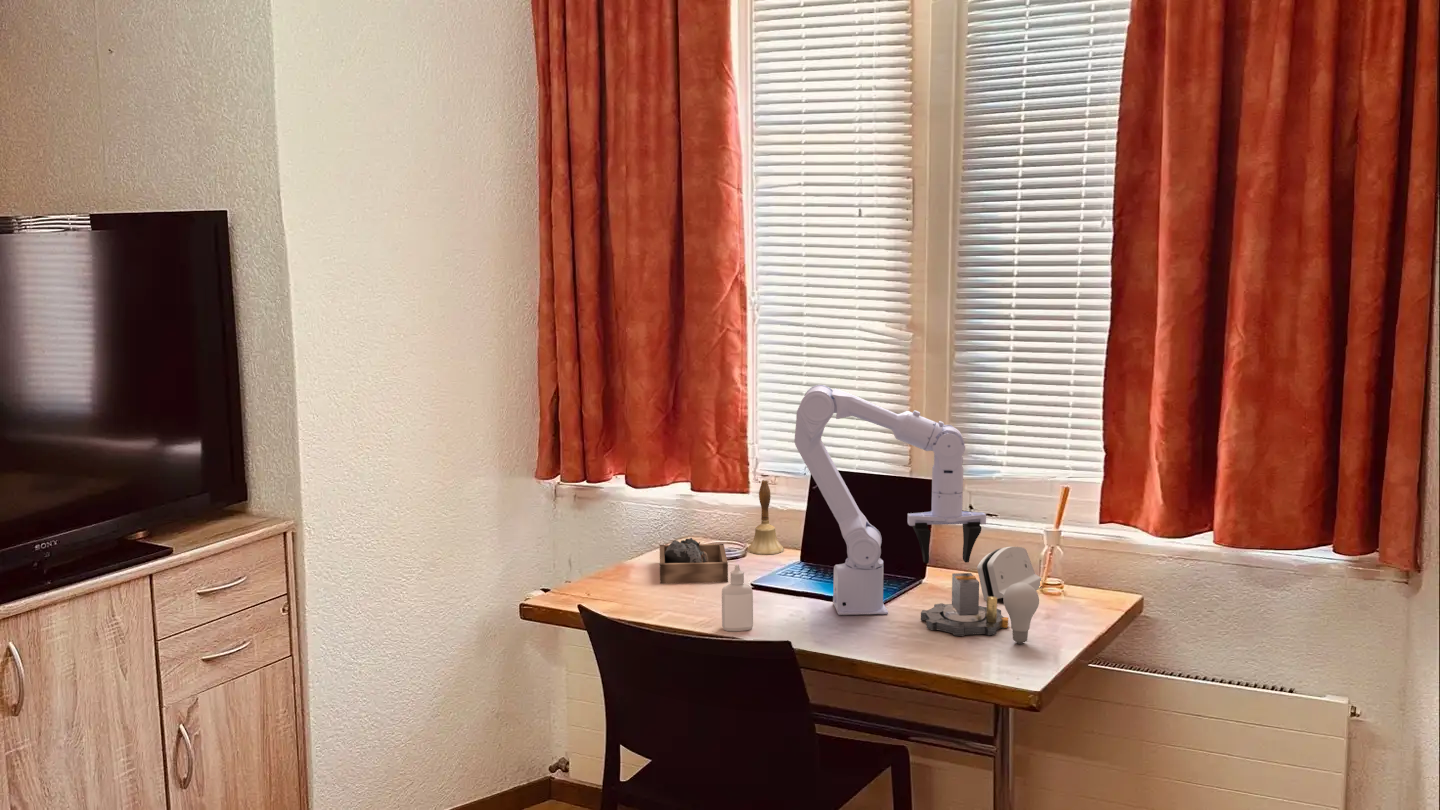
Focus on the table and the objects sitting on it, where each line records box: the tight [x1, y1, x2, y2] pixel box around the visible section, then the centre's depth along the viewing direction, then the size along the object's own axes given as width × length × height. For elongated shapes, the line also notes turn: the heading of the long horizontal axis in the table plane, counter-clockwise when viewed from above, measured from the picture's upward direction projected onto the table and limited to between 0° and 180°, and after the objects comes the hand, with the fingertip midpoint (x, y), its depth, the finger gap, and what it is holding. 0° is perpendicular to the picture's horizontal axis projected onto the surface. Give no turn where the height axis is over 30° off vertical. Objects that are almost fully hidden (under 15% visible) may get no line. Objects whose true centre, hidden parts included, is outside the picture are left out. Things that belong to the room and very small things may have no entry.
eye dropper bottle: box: [721, 563, 754, 632], centre depth 229 cm, size 4×6×12 cm
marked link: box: [951, 572, 980, 615], centre depth 231 cm, size 4×6×6 cm, turn 3°
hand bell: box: [746, 480, 785, 556], centre depth 284 cm, size 8×8×16 cm
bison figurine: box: [664, 537, 709, 563], centre depth 266 cm, size 12×7×10 cm
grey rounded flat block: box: [976, 546, 1042, 602], centre depth 251 cm, size 17×5×10 cm, turn 141°
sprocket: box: [920, 596, 1009, 637], centre depth 231 cm, size 15×15×6 cm
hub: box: [943, 603, 985, 623], centre depth 232 cm, size 8×8×3 cm
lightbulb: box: [1002, 583, 1040, 645], centre depth 220 cm, size 6×6×11 cm
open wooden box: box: [659, 543, 729, 584], centre depth 267 cm, size 14×16×4 cm
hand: (945, 561), depth 237 cm, fingers open, 7 cm apart
